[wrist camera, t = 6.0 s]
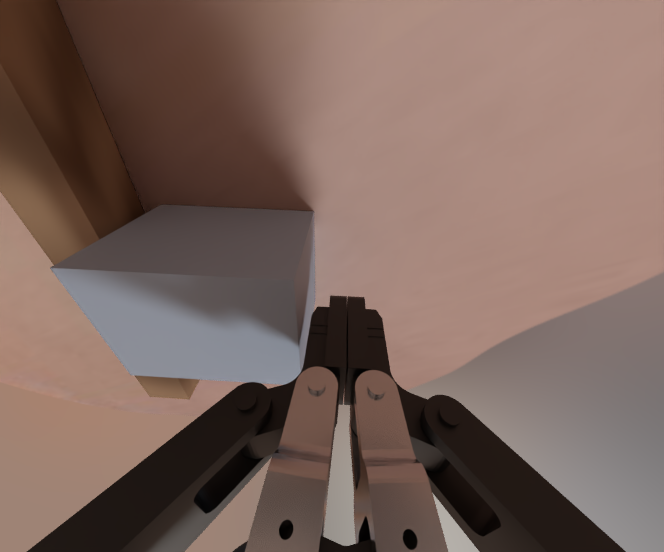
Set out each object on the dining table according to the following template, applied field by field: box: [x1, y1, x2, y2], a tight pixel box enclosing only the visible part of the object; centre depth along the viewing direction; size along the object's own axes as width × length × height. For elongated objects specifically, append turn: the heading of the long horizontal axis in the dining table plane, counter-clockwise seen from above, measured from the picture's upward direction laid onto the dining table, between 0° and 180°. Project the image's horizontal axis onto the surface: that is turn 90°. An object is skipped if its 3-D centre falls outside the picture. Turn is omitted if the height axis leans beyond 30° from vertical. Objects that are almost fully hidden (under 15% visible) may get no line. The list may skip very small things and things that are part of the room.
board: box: [0, 0, 200, 399], centre depth 14 cm, size 22×3×3 cm, turn 178°
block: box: [50, 204, 315, 385], centre depth 12 cm, size 6×8×6 cm
